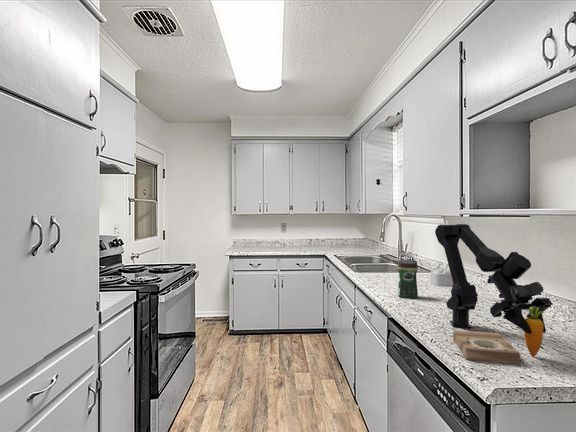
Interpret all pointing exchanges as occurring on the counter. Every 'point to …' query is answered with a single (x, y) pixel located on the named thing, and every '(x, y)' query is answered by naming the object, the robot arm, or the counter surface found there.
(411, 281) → the coffee jar
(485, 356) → the hole board
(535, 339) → the carrot
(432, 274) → the lumpy-topped squat cylinder
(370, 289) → the counter surface
